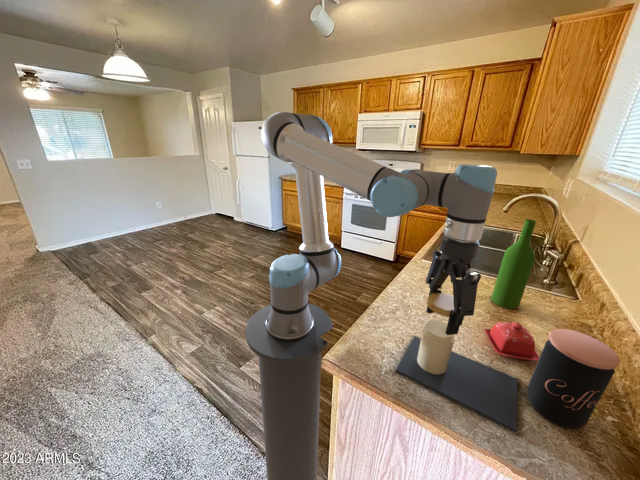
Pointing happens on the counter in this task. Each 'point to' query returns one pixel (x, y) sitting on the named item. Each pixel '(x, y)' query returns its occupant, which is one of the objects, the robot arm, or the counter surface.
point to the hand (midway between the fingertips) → (440, 322)
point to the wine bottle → (515, 270)
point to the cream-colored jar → (435, 347)
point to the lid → (441, 303)
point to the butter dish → (512, 341)
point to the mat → (468, 385)
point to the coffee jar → (571, 377)
